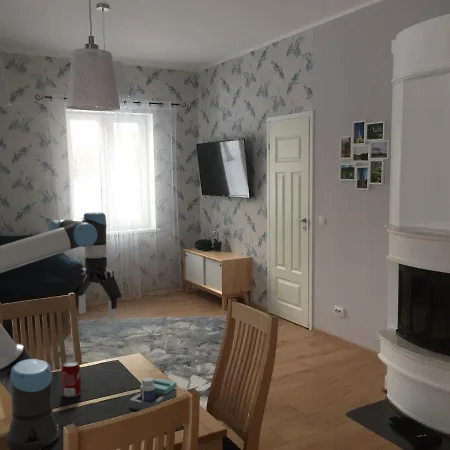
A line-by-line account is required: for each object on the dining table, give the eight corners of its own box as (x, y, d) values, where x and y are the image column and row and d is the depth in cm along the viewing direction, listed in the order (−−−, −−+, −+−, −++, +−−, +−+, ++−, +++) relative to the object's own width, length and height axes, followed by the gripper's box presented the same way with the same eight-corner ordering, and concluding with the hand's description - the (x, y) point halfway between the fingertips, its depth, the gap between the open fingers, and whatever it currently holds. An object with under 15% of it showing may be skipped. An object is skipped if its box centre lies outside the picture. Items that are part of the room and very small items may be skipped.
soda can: (75, 399, 187) (74, 367, 186) (58, 397, 188) (57, 365, 187) (84, 391, 193) (83, 360, 192) (67, 390, 195) (67, 359, 194)
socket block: (153, 413, 175) (152, 405, 175) (129, 407, 180) (129, 399, 180) (176, 397, 189) (176, 389, 188) (154, 392, 193) (154, 384, 193)
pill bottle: (159, 404, 183) (158, 378, 182) (149, 410, 178) (148, 383, 177) (147, 401, 185) (147, 375, 184) (137, 406, 181) (137, 379, 180)
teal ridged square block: (165, 394, 183) (165, 387, 183) (145, 390, 187) (145, 383, 187) (176, 387, 190) (176, 380, 190) (157, 382, 194) (157, 376, 193)
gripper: (131, 257, 178) (131, 317, 180) (76, 252, 189) (77, 308, 191) (117, 260, 171) (118, 322, 173) (61, 255, 182) (63, 313, 184)
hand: (97, 315), depth 182 cm, fingers open, 13 cm apart
